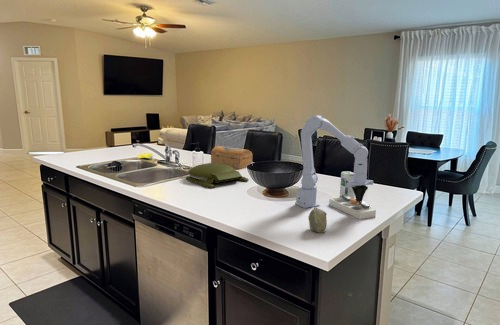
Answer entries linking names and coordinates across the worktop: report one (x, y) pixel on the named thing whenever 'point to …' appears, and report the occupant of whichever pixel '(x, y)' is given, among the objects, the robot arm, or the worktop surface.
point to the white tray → (352, 208)
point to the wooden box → (231, 157)
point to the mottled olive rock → (317, 220)
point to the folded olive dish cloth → (213, 174)
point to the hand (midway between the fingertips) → (359, 200)
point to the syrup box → (345, 178)
